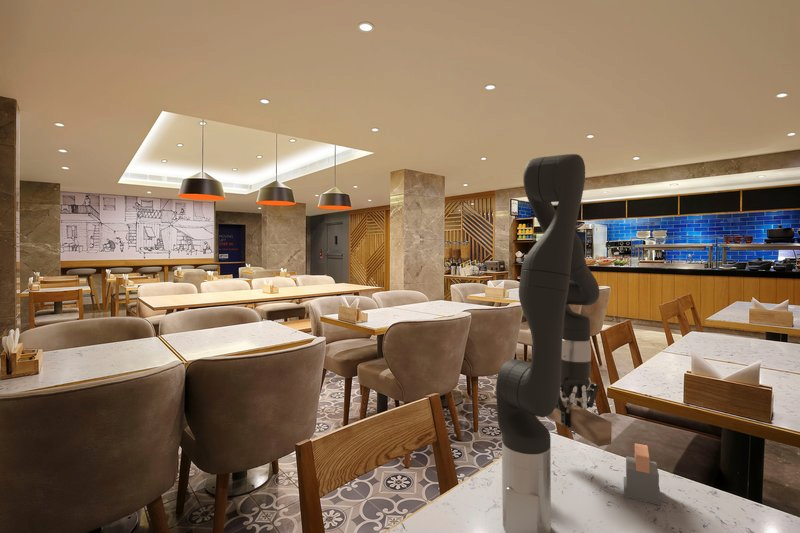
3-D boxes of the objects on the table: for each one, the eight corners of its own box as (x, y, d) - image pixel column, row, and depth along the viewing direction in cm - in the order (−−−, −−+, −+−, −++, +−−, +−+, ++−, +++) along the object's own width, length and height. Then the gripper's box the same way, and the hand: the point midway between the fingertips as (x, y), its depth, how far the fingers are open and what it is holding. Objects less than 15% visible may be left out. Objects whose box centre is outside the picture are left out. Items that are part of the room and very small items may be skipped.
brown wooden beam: (611, 444, 90) (611, 422, 90) (598, 446, 89) (599, 424, 89) (552, 411, 109) (552, 393, 109) (541, 413, 108) (541, 394, 108)
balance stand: (661, 505, 86) (661, 460, 85) (624, 496, 89) (624, 452, 89) (658, 490, 91) (658, 447, 91) (623, 482, 94) (623, 441, 94)
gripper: (560, 362, 93) (559, 435, 93) (608, 358, 97) (607, 428, 97) (540, 355, 100) (539, 423, 100) (585, 351, 104) (585, 416, 105)
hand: (573, 425), depth 99 cm, fingers closed on brown wooden beam, 3 cm apart
